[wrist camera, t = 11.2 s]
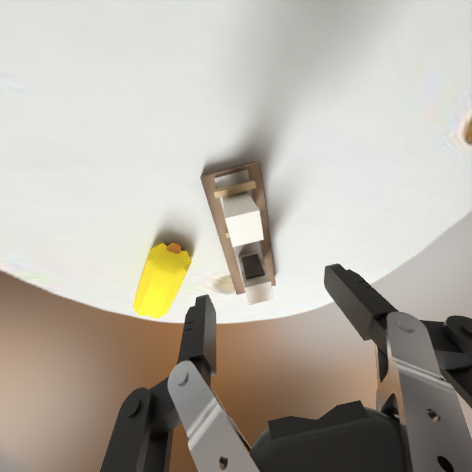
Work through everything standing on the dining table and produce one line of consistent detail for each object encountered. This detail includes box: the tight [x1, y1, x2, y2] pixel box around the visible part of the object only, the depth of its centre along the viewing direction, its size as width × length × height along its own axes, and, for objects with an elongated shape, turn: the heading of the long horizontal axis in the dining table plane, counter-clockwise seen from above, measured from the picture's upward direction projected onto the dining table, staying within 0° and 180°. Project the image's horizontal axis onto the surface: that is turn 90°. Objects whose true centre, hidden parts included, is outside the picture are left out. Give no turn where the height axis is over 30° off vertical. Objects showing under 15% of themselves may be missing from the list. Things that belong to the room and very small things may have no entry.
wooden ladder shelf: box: [200, 162, 276, 305], centre depth 28 cm, size 9×26×11 cm, turn 12°
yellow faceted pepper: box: [133, 243, 191, 319], centre depth 32 cm, size 18×7×8 cm
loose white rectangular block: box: [222, 192, 264, 247], centre depth 23 cm, size 4×4×8 cm
